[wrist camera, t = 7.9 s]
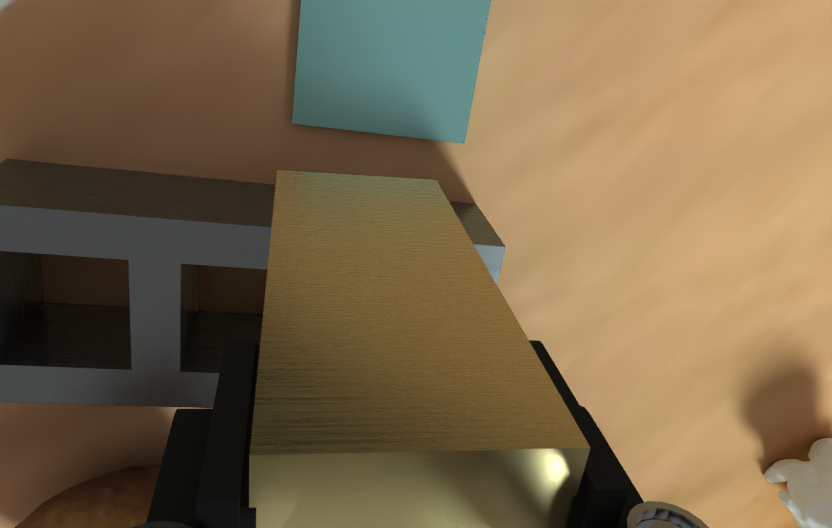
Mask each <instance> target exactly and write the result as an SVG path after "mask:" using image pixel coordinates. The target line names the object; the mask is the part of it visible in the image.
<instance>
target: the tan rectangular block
mask: <svg viewBox="0 0 832 528" xmlns="http://www.w3.org/2000/svg"><path fill="white" fill-rule="evenodd" d="M589 452H590V446H589V444H588V442H587V441H586V439H585V437H584V436H583V434H582V432H581V430H580V429H579V427H578V425H577V423H576V422H575V420H574V418H573V416H572V415H571V413H570V411H569V409H568V408H567V406H566V404H565V403H564V401H563V399H562V397H561V396H560V394H559V392H558V390H557V389H556V387H555V385H554V383H553V382H552V380H551V378H550V376H549V375H548V373H547V371H546V370H545V368H544V366H543V364H542V363H541V361H540V359H539V357H538V356H537V354H536V352H535V350H534V349H533V347H532V345H531V344H530V342H529V340H528V338H527V337H526V335H525V333H524V331H523V330H522V328H521V326H520V324H519V323H518V321H517V319H516V317H515V316H514V314H513V312H512V311H511V309H510V307H509V305H508V304H507V302H506V300H505V298H504V297H503V295H502V293H501V291H500V290H499V288H498V286H497V284H496V283H495V281H494V279H493V278H492V276H491V274H490V272H489V271H488V269H487V267H486V265H485V264H484V262H483V260H482V258H481V257H480V255H479V253H478V251H477V250H476V248H475V246H474V245H473V243H472V241H471V239H470V238H469V236H468V234H467V232H466V231H465V229H464V227H463V225H462V224H461V222H460V220H459V218H458V217H457V215H456V213H455V212H454V210H453V208H452V206H451V205H450V203H449V201H448V199H447V198H446V196H445V194H444V192H443V191H442V189H441V187H440V186H439V184H438V182H437V180H431V179H415V178H399V177H383V176H367V175H350V174H334V173H318V172H302V171H285V170H277V176H276V186H275V197H274V207H273V217H272V228H271V238H270V248H269V259H268V269H267V279H266V290H265V300H264V310H263V321H262V331H261V341H260V352H259V362H258V372H257V383H256V393H255V403H254V414H253V424H252V434H251V445H250V455H249V508H252V507H256V528H564V525H565V521H566V518H567V514H568V511H569V508H570V504H571V501H572V497H573V496H577V492H578V489H579V485H580V482H581V479H582V475H583V472H584V469H585V465H586V462H587V458H588V455H589Z"/></svg>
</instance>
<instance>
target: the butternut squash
mask: <svg viewBox="0 0 832 528" xmlns="http://www.w3.org/2000/svg"><path fill="white" fill-rule="evenodd" d="M159 471H160V467H153V468H148V467H131V468H127V469H123V470H120V471H116V472H112V473H108V474H105V475H102V476H99V477H96V478H93V479H90V480H87V481H85V482H82V483H80V484H77V485H75V486H73V487H71V488H69V489H67V490H65V491H63V492H61V493H59V494H57V495H55V496H53V497H52V498H50V499H49V500H47V501H46V502H44V503H43V504H42V505H40V506H39V507H38V508H37V509H36V510H35V511H34V512H32V513H31V514H30V515H29V516H28V517H27V518H26V519H25V520H24V521H23V522H21V523H20V524H19V525H17V526H16V527H14V528H132V527H135V526H138V525H141V524H145V523H146V521H147V517H148V513H149V509H150V505H151V502H152V498H153V494H154V490H155V486H156V483H157V479H158V475H159Z"/></svg>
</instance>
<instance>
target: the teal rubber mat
mask: <svg viewBox="0 0 832 528" xmlns="http://www.w3.org/2000/svg"><path fill="white" fill-rule="evenodd" d="M490 2H491V0H301V7H300V21H299V34H298V47H297V61H296V74H295V87H294V101H293V114H292V124H299V125H308V126H317V127H325V128H334V129H343V130H351V131H360V132H369V133H377V134H386V135H395V136H403V137H412V138H421V139H429V140H438V141H447V142H455V143H465V137H466V132H467V127H468V121H469V116H470V110H471V105H472V100H473V94H474V89H475V83H476V78H477V73H478V67H479V62H480V56H481V51H482V46H483V40H484V35H485V29H486V24H487V19H488V13H489V8H490Z"/></svg>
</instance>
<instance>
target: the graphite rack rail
mask: <svg viewBox="0 0 832 528" xmlns="http://www.w3.org/2000/svg"><path fill="white" fill-rule="evenodd" d="M275 186H276V185H269V184H259V183H248V182H238V181H227V180H217V179H207V178H196V177H186V176H175V175H165V174H155V173H144V172H134V171H123V170H113V169H103V168H92V167H82V166H71V165H61V164H51V163H40V162H30V161H19V160H9V159H6V160H5V161H3V162H2V163H1V164H0V402H16V403H52V404H88V405H124V406H159V407H195V408H213V406H214V401H215V395H216V390H217V384H218V379H219V373H220V368H221V362H222V357H223V351H224V346H225V341H226V337H257V345H260V341H261V331H262V321H263V315H256V314H238V313H221V312H203V311H198V295H199V265H208V266H222V267H237V268H251V269H265V270H267V269H268V259H269V248H270V238H271V228H272V217H273V207H274V197H275ZM449 203H450V205H451V206H452V208H453V210H454V212H455V213H456V215H457V217H458V218H459V220H460V222H461V224H462V225H463V227H464V229H465V231H466V232H467V234H468V236H469V238H470V239H471V241H472V243H473V245H474V246H475V248H476V250H477V251H478V253H479V255H480V257H481V258H482V260H483V262H484V264H485V265H486V267H487V269H488V271H489V272H490V274H491V276H492V278H493V279H494V281H495V283H496V284H497V283H498V279H499V274H500V270H501V266H502V261H503V257H504V252H505V248H506V247H505V245H504V244H503V242H502V241H501V239H500V238H499V237H498V235H497V234H496V232H495V231H494V229H493V228H492V226H491V225H490V223H489V222H488V221H487V219H486V218H485V216H484V215H483V213H482V212H481V210H480V209H479V208H478V206H477V205H476V204H467V203H456V202H449ZM40 254H52V255H66V256H80V257H94V258H109V259H123V260H128V264H129V298H130V307H114V306H97V305H79V304H61V303H44V297H43V286H42V275H41V264H40Z"/></svg>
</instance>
